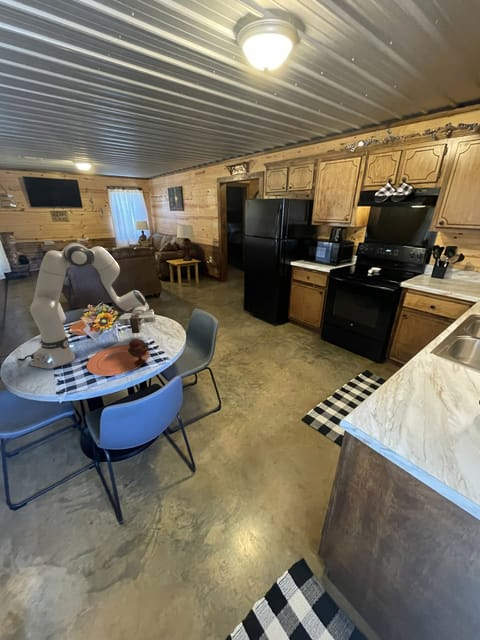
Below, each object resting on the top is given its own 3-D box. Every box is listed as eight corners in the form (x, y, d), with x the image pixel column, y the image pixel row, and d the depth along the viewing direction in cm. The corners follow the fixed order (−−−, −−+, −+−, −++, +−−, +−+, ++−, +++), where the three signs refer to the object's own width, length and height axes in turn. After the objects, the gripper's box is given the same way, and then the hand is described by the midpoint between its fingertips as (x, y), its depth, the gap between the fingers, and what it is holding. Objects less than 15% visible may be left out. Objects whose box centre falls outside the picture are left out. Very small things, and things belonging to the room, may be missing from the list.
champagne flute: (57, 337, 181) (47, 304, 171) (67, 333, 186) (58, 301, 177) (62, 339, 178) (52, 305, 168) (72, 335, 183) (63, 302, 174)
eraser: (132, 333, 149) (129, 318, 146) (134, 329, 154) (131, 315, 151) (139, 332, 150) (137, 318, 147) (141, 329, 155) (138, 314, 152)
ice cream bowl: (144, 368, 145) (140, 344, 139) (126, 365, 147) (121, 342, 141) (154, 358, 155) (150, 335, 149) (136, 356, 157) (132, 333, 151)
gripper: (120, 311, 159) (114, 320, 147) (155, 309, 162) (152, 317, 150) (122, 320, 162) (116, 330, 149) (156, 318, 165) (154, 327, 152)
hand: (135, 323), depth 150 cm, fingers closed on eraser, 4 cm apart
